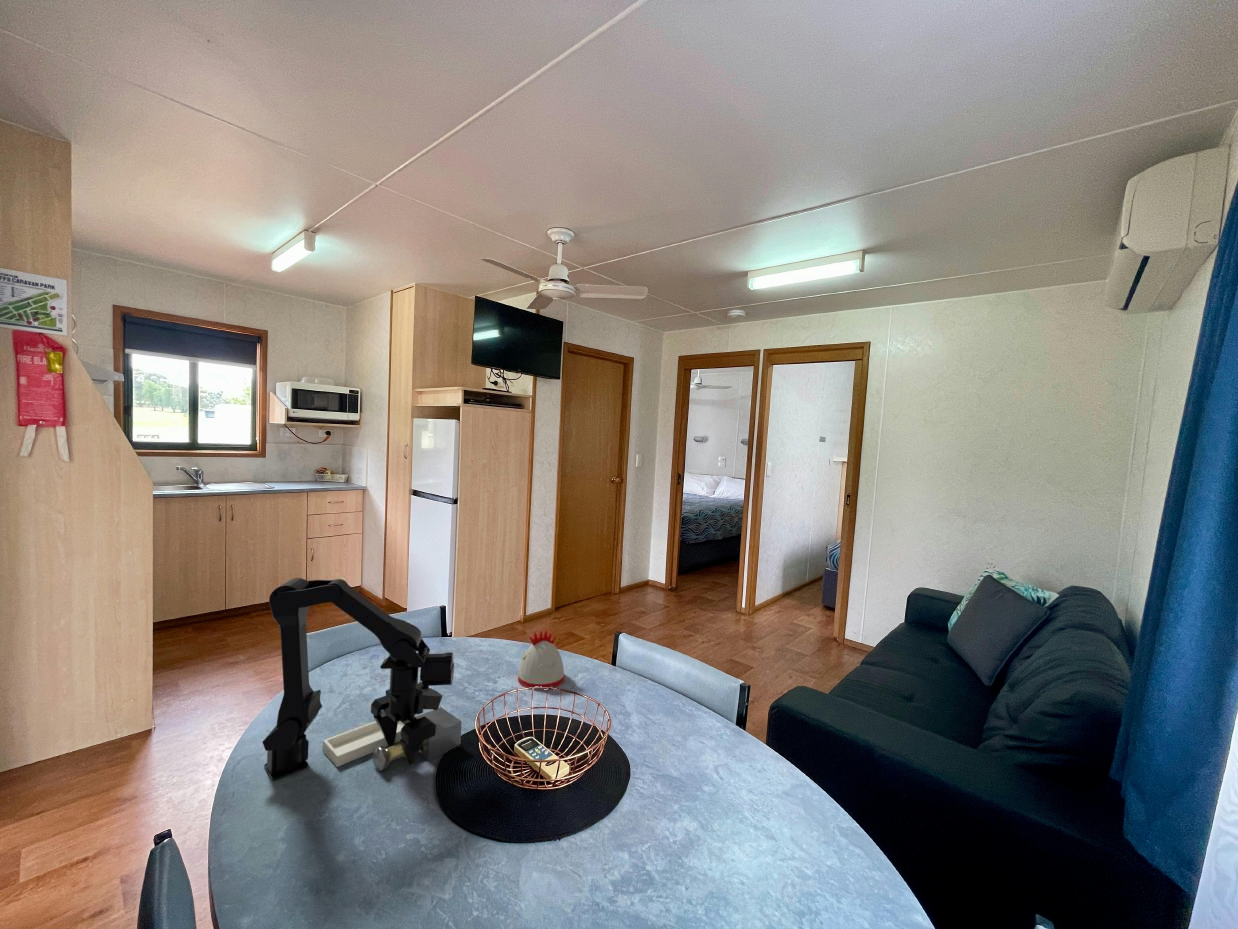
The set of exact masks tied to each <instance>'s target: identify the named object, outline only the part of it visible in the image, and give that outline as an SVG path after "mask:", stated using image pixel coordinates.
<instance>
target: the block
mask: <svg viewBox="0 0 1238 929" xmlns="http://www.w3.org/2000/svg"><path fill="white" fill-rule="evenodd" d="M424 716H425V717H427V718H428V719H429V720H431V721H432V722H433V723H435V724H436V734H435V736H432V737H430V738H428V739H426V740H424V746H423V748H420V750H419V752H418V754H420V755H421V756H422V757H423V758H424V759H426V760H427V761H428V762H429V761H431V760H433V759H435V758H438V757H439V756H442V755H444V754H446V753H448V751H449V750H451V749H452V748H455V747H456V746H459V745H460V744H462V742H461V741H462V724H463V723H462V720H460V719H459V718H457V717H456V716H454V715H453V714H452V713H450V712H449V711H448V710H446V709H445V708H443V707H441V706H439V708H438V710H434V709H431V710H430V711H428V712H425V713H421V714H418V715H417V716H415V717H416V718H417V719H419V718H422V717H424ZM459 747H460V746H459ZM455 749H456V748H455ZM451 751H452V750H451ZM449 752H450V751H449Z"/></svg>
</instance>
